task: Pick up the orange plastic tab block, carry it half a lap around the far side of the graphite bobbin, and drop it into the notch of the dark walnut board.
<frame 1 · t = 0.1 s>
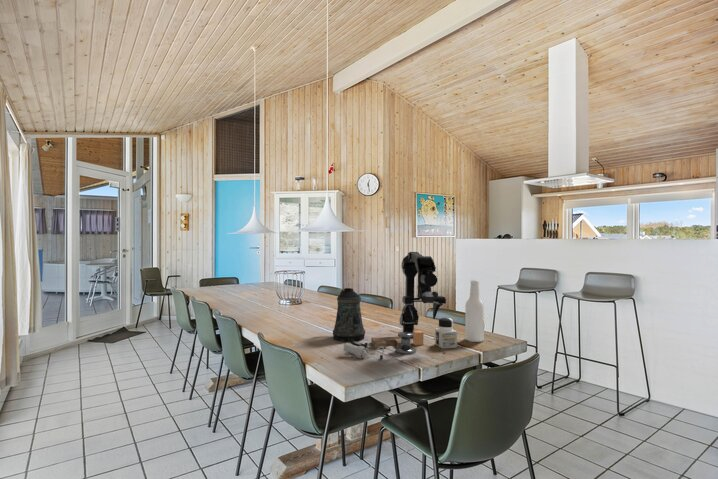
hand: (423, 319, 178), 15 cm above the table, tool pointing down, fingers open, 9 cm apart
alcohol: (474, 340, 199), on the table
clip-on lamp: (365, 356, 171), on the table
bobbin: (405, 351, 178), on the table
notched board: (389, 345, 189), on the table
tab block: (418, 344, 191), on the table
container: (445, 346, 187), on the table
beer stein: (346, 338, 203), on the table
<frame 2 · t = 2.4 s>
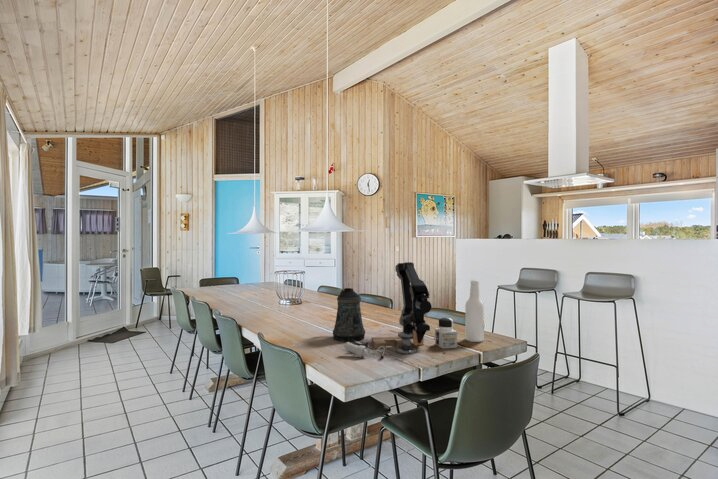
hand: (418, 341, 191), 1 cm above the table, tool pointing down, fingers closed on tab block, 4 cm apart
tab block: (418, 344, 191), on the table, touching gripper
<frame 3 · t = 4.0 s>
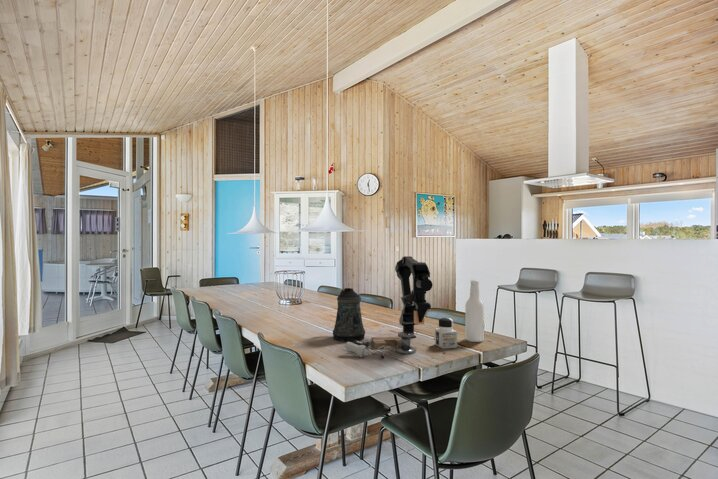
hand: (419, 321, 190), 11 cm above the table, tool pointing down, fingers closed on tab block, 4 cm apart
tab block: (419, 323, 190), point 10 cm above the table, touching gripper
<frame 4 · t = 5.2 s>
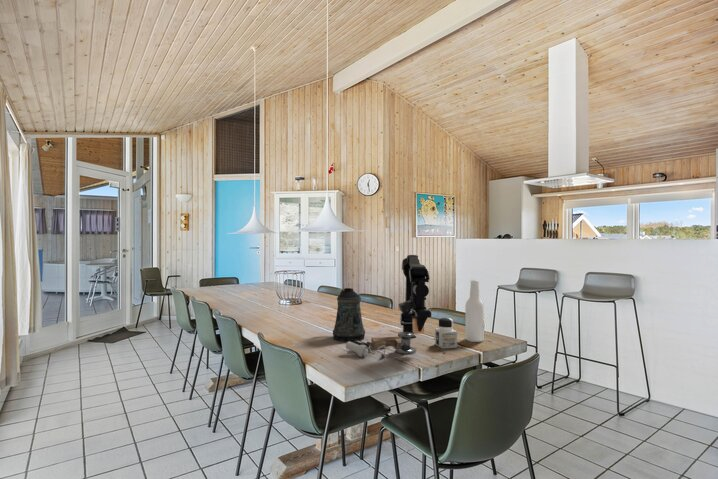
hand: (418, 330, 174), 10 cm above the table, tool pointing down, fingers closed on tab block, 4 cm apart
tab block: (418, 332, 174), point 9 cm above the table, touching gripper
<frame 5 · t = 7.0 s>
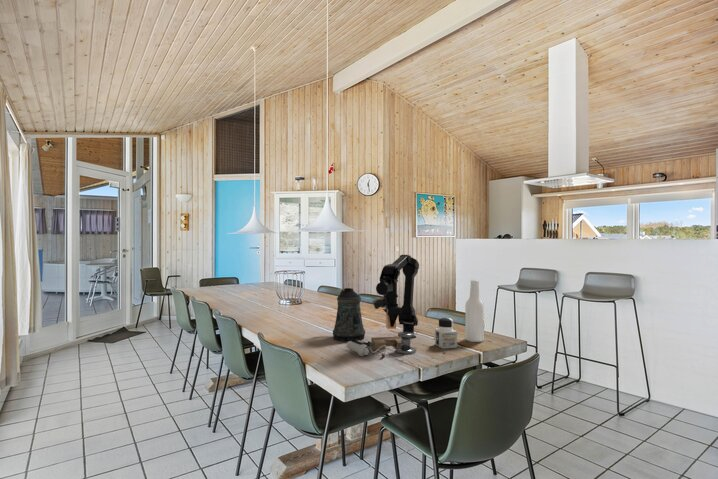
hand: (390, 325, 186), 10 cm above the table, tool pointing down, fingers closed on tab block, 4 cm apart
tab block: (390, 327, 186), point 9 cm above the table, touching gripper
when the fingers open (4 cm above the table, at t = 8.3 s): tab block drops 4 cm, on the table.
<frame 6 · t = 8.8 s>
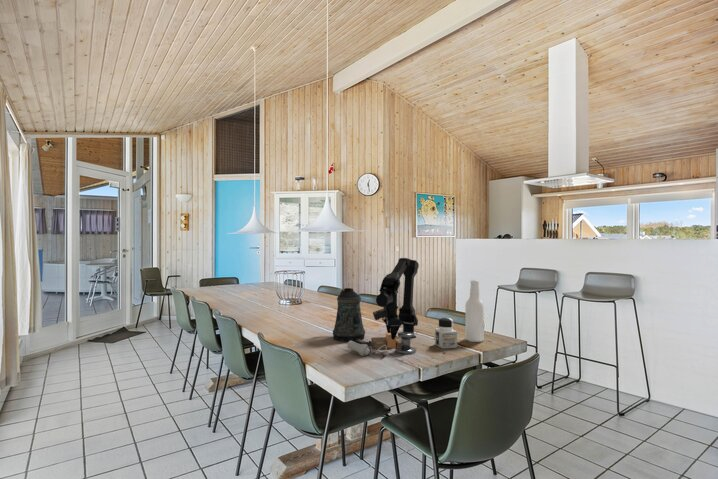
hand: (390, 336, 186), 4 cm above the table, tool pointing down, fingers open, 9 cm apart
tab block: (390, 346, 186), on the table
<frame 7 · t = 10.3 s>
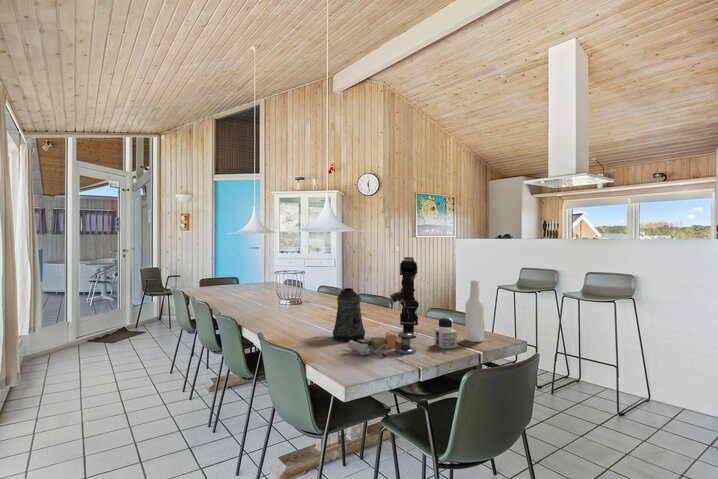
hand: (407, 318, 192), 12 cm above the table, tool pointing down, fingers open, 9 cm apart
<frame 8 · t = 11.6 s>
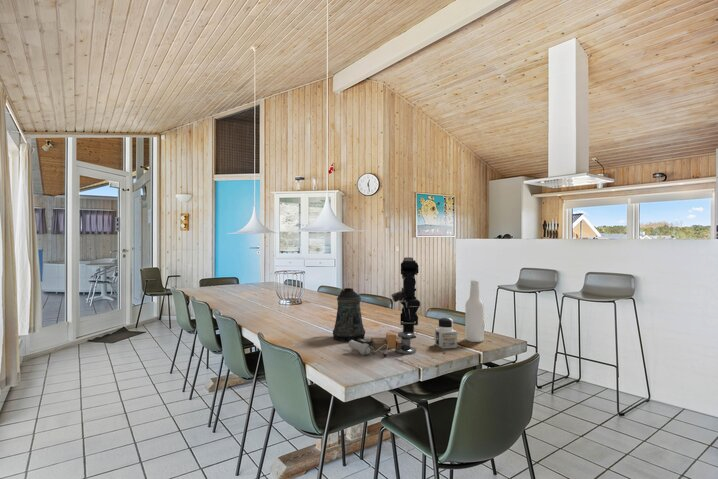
hand: (409, 318, 192), 12 cm above the table, tool pointing down, fingers open, 9 cm apart
at the end: tab block 0.0 cm from the target spot on the notched board, point 0.0 cm above the notched board's base; tab block tilted 0°; the gripper is holding nothing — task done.
